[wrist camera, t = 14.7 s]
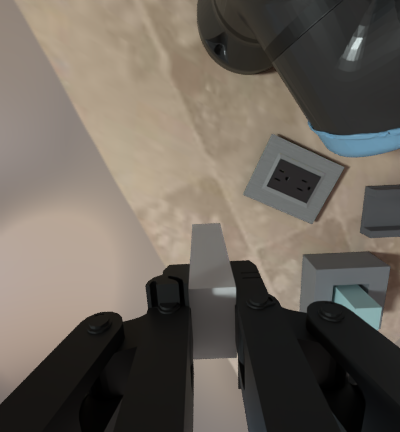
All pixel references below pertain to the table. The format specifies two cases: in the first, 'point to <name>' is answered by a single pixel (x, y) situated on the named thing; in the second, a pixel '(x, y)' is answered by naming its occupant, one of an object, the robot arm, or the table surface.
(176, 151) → the table surface
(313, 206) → the electrical outlet
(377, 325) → the plug
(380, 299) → the port block
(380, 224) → the grey u-channel bracket
